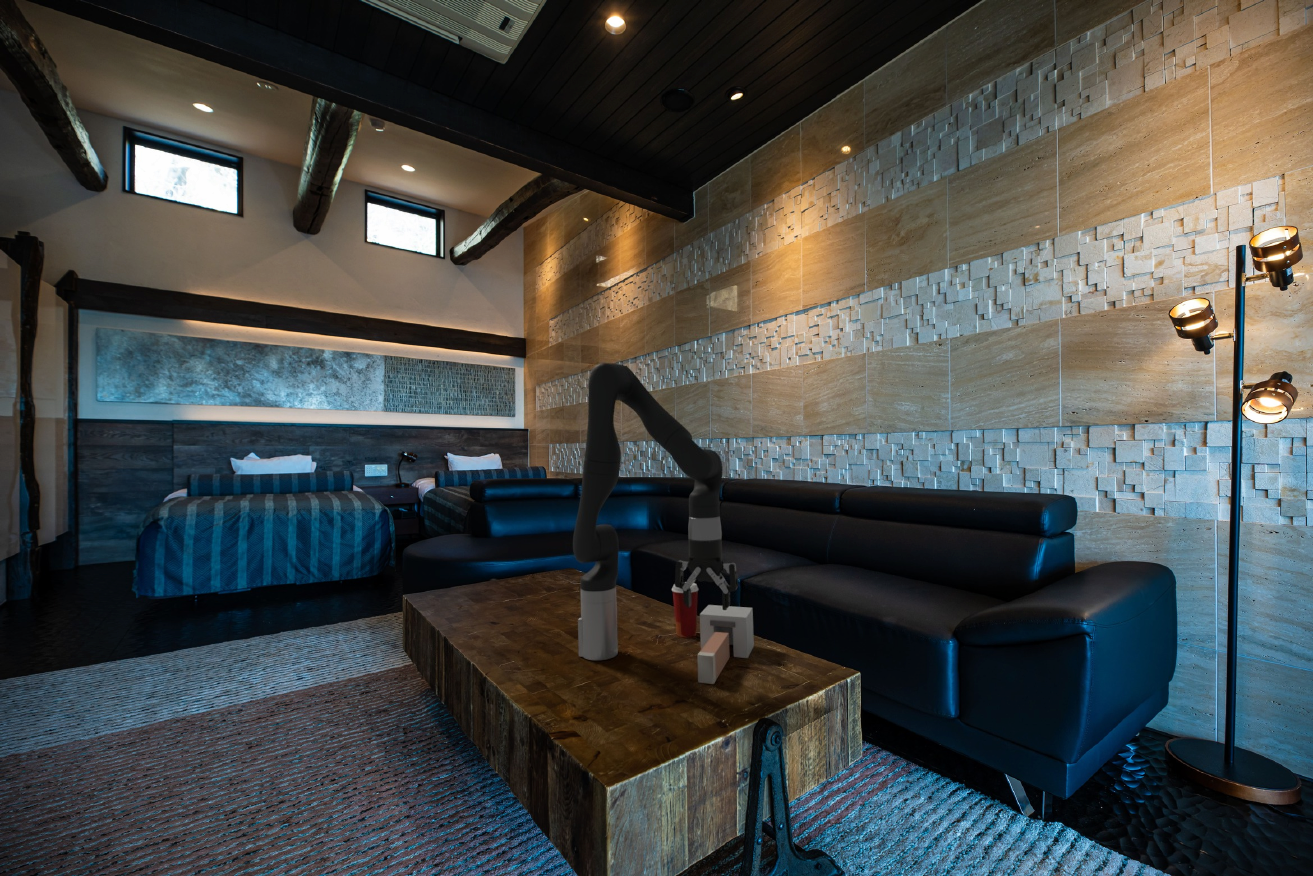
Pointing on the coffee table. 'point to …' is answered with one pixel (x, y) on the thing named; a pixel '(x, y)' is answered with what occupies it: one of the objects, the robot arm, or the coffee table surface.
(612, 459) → the robot arm
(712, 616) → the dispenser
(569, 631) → the coffee table surface
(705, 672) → the pink white-banded pillar
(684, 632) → the paper cup
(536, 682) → the coffee table surface
